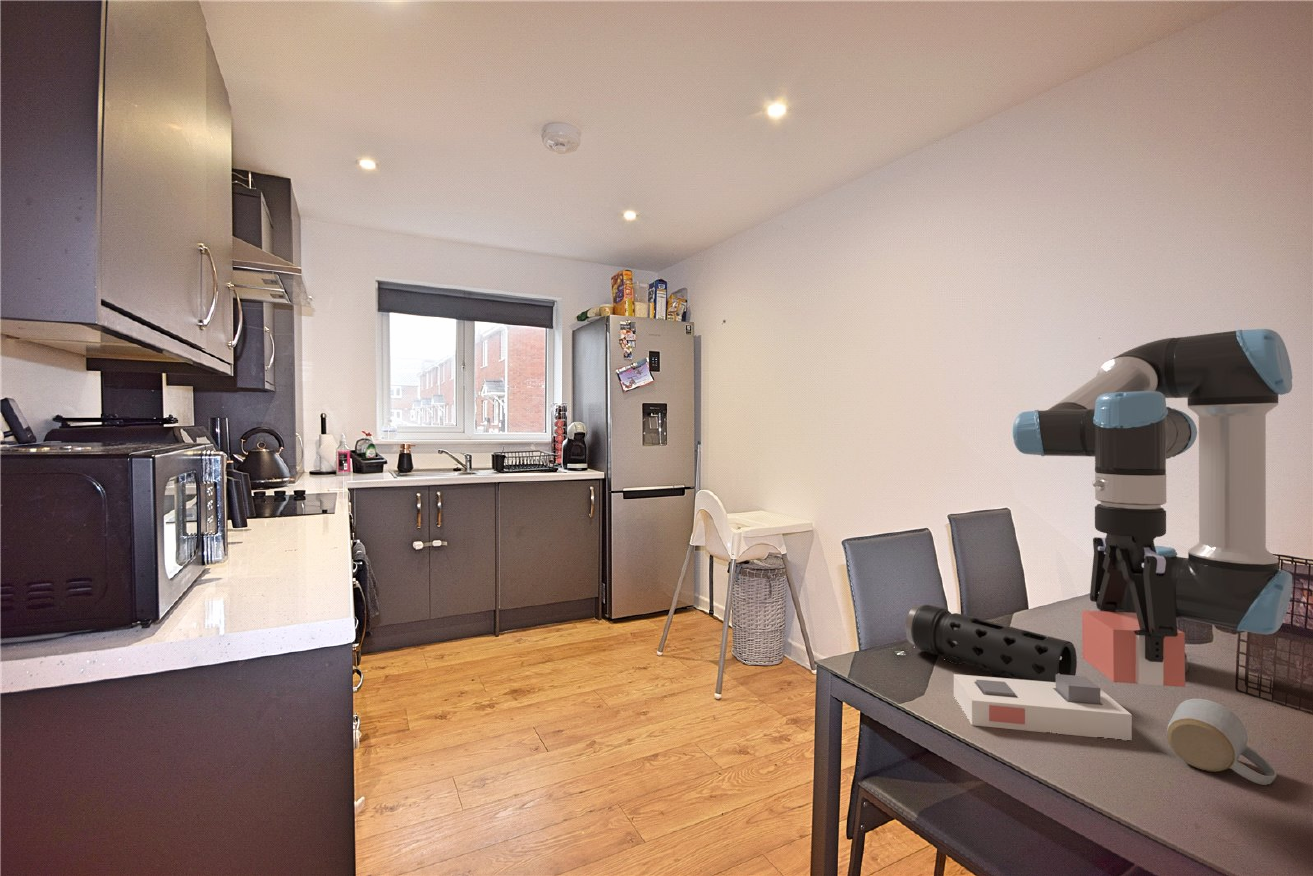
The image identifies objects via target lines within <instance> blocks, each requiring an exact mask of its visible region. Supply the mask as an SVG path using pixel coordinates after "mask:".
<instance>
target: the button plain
mask: <svg viewBox="0 0 1313 876" xmlns="http://www.w3.org/2000/svg"><path fill="white" fill-rule="evenodd" d="M1100 689H1101V687H1099V686H1098V684H1096V683H1095V682H1093V681H1092V680H1091V679H1090V678H1089V677H1087V676H1084V675H1075V676H1074V675H1061V674H1059V673H1058V674H1056V692H1057V693H1058V694H1059V695H1061V696H1062V697H1063V698H1064V699H1065V700H1066V701H1067V702H1073V703H1084V704H1096V705H1100Z"/></svg>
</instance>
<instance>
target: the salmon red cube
mask: <svg viewBox="0 0 1313 876" xmlns="http://www.w3.org/2000/svg"><path fill="white" fill-rule="evenodd" d="M1081 621H1082V622H1081V623H1082V624H1081V628H1082V629H1081V630H1082V632H1081V633H1082V637H1081V638H1082V647H1081V648H1082V650H1081V651H1082V659H1083V660H1084V661H1086V662H1087V663H1088V664H1089V665H1091V666H1092V667H1093V668H1095V669H1096V670H1097V671H1099V672H1100V673H1101V674H1103V675H1104V676H1105V677H1106V678H1108V680H1110V681H1112V682H1113V683H1121V684H1134V685H1135V684H1136V685H1138V683H1137V682H1136V634H1135V633H1134V631H1135V630H1140V627H1139V623H1138V619H1137V614H1136V613H1128V612H1106V611H1100V610H1082V611H1081ZM1177 631H1178V635H1177V636H1176V637H1165V638H1164V651H1163V652H1164V654H1163V655H1164V659H1163V687H1164V686H1167V687H1180V688H1185V687H1186V672H1185V653H1186V648H1185V645H1186V636H1185V635H1186V633H1185V632H1184V631H1181V630H1179V629H1178V628H1177Z"/></svg>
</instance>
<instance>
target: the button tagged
mask: <svg viewBox="0 0 1313 876" xmlns="http://www.w3.org/2000/svg"><path fill="white" fill-rule="evenodd" d="M976 685H977V686H978V688H979V689H980V690H981V692H982V693H983V694H984V695H993V696H1004V697H1015V693H1014V692H1013V691H1012V689H1011V688H1010V687H1009V686H1008V685H1007V684H1006V683H1005V682H1000V681H988V680H976Z"/></svg>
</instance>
